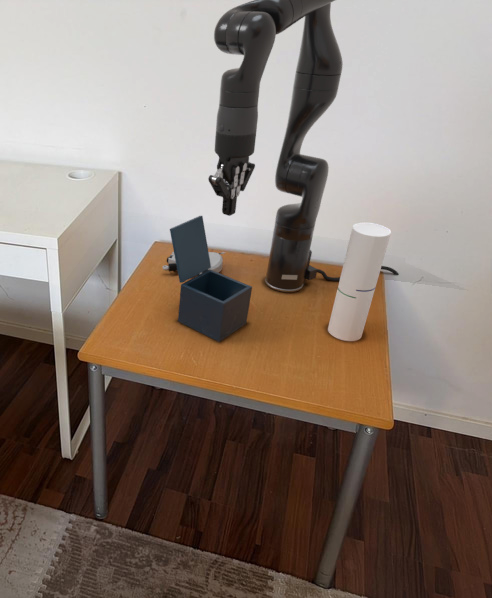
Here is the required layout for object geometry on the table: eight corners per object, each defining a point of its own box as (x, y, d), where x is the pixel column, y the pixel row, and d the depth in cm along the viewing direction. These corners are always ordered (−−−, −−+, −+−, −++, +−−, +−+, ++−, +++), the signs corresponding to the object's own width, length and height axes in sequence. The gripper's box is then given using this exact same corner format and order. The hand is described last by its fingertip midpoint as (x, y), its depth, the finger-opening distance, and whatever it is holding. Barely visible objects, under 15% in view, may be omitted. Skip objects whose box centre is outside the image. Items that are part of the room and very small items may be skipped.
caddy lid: (202, 215, 130) (199, 215, 130) (172, 228, 123) (169, 228, 124) (211, 267, 133) (208, 267, 134) (182, 282, 127) (179, 282, 128)
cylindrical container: (364, 342, 125) (394, 237, 112) (330, 339, 126) (356, 235, 113) (358, 325, 131) (386, 223, 118) (325, 321, 132) (349, 221, 119)
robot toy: (160, 279, 152) (216, 285, 146) (159, 263, 149) (217, 269, 144) (173, 259, 161) (226, 265, 156) (172, 245, 159) (227, 250, 154)
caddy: (246, 323, 131) (252, 286, 126) (219, 342, 125) (223, 303, 120) (205, 304, 139) (209, 269, 134) (177, 321, 132) (180, 284, 127)
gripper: (232, 139, 102) (224, 228, 111) (272, 124, 110) (262, 209, 119) (198, 132, 107) (193, 218, 116) (239, 118, 115) (232, 200, 124)
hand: (228, 213), depth 117 cm, fingers closed
